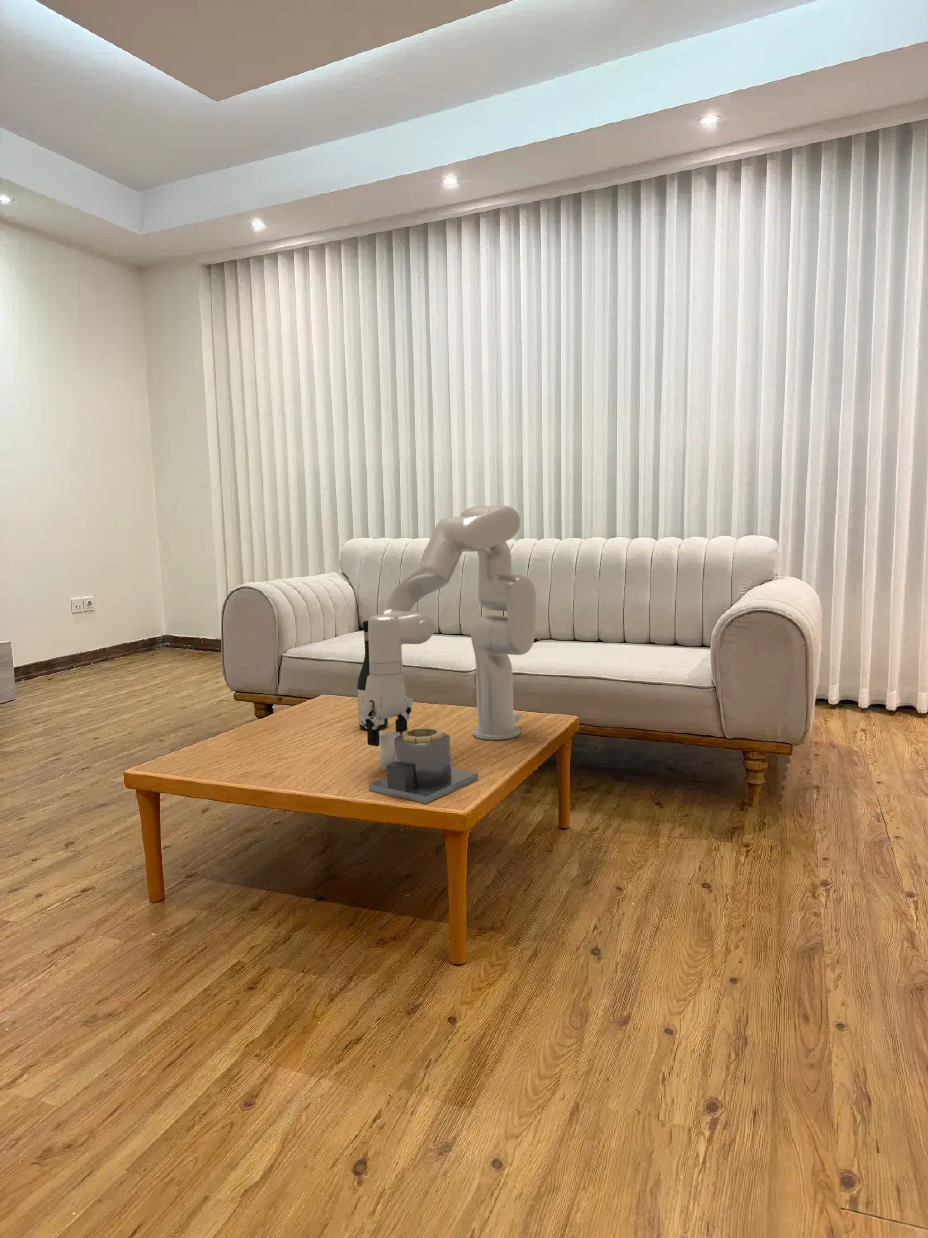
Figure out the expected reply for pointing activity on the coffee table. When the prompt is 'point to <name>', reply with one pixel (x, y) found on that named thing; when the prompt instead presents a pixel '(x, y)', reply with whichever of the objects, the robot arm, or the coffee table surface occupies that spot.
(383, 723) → the wine bottle
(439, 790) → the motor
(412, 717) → the coffee table surface
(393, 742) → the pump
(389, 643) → the robot arm
